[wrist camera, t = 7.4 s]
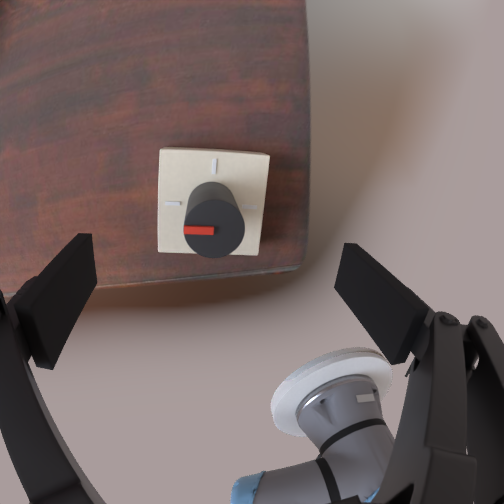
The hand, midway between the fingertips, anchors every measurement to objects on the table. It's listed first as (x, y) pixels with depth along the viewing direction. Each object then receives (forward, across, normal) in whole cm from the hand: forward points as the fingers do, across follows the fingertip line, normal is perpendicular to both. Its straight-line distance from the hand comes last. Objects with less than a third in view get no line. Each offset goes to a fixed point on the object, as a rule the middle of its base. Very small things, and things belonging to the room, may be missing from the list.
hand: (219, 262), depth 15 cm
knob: (+14, 0, -1) cm, 14 cm away
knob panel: (+17, 0, 0) cm, 17 cm away
